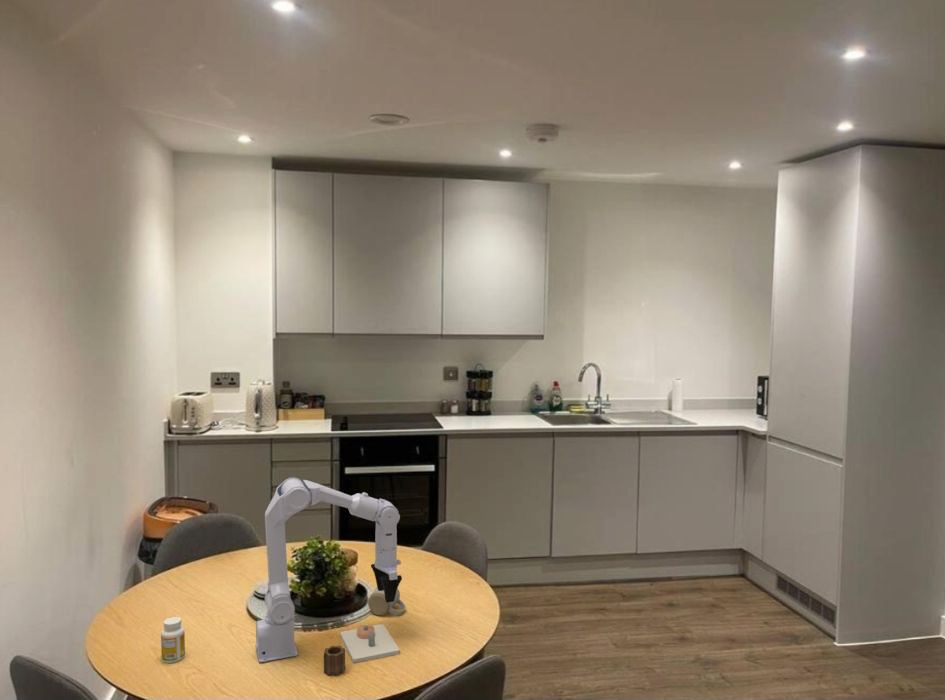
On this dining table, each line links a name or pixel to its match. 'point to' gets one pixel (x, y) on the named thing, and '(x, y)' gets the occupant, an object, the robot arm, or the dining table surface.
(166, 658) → the supplement bottle
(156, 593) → the dining table surface
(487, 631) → the dining table surface
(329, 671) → the walnut pinion gear
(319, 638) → the dining table surface
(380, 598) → the ceramic mug
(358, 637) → the gear board
